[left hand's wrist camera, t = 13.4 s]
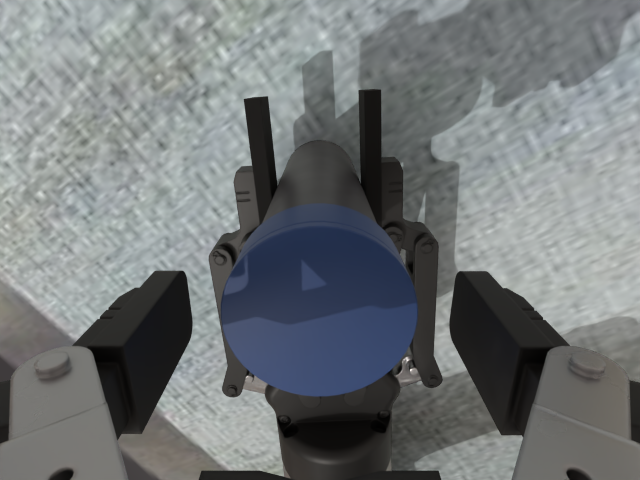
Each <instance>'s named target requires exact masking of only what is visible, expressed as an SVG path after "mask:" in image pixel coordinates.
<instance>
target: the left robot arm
mask: <svg viewBox="0 0 640 480" xmlns="http://www.w3.org/2000/svg"><path fill="white" fill-rule="evenodd" d="M191 334H192V313H191V306H190V298H189V291H188V283H187V277H186V274H185V272H184V271H155V272H153V274H152V275H151V276H150V277H149V278H148V279H147V280H146V281H145V282H144V283H143V285H142V286H141V287H140V288H134V289H132V290H131V291H129V292H127V293H125V294H123V295H122V296H120V297H119V298H118V299H117V300H116V301H115V302H114V303H113V304H112V305H111V306H110V307H109V310H106V311H105V312H104V313H103V314H102V315H101V316H100V319H97V320H96V321H95V323H94V324H93V325H92V326H91V327H90V328H89V329H88V330H87V331H86V332H85V333H84V334H83V335H82V336H81V337H80V338H79V339H78V340H77V341H76V342H75V343H74V344H73V345H72V346H66V347H60V348H56V349H52V350H49V351H46V352H43V353H41V354H39V355H37V356H35V357H33V358H31V359H29V360H28V361H26V362H25V363H23V364H22V365H21V366H20V367H19V368H18V369H17V370H16V371H15V372H14V373H13V375H12V377H11V380H9V381H4V382H0V480H128V477H127V473H126V469H125V466H124V462H123V458H122V455H121V451H120V448H119V444H118V439H119V437H120V435H121V434H142V432H143V430H144V428H145V426H146V424H147V423H148V421H149V419H150V417H151V415H152V413H153V411H154V409H155V407H156V405H157V403H158V401H159V399H160V397H161V395H162V393H163V391H164V390H165V388H166V386H167V384H168V382H169V380H170V378H171V376H172V374H173V372H174V370H175V368H176V366H177V364H178V362H179V360H180V358H181V357H182V355H183V353H184V351H185V349H186V347H187V345H188V343H189V341H190V338H191ZM450 334H451V338H452V341H453V343H454V345H455V347H456V349H457V351H458V353H459V355H460V357H461V359H462V361H463V363H464V365H465V366H466V368H467V370H468V372H469V374H470V376H471V378H472V380H473V382H474V384H475V386H476V388H477V389H478V391H479V393H480V395H481V397H482V399H483V401H484V403H485V405H486V407H487V409H488V411H489V412H490V414H491V416H492V418H493V420H494V422H495V424H496V426H497V428H498V430H499V432H500V434H501V435H522V436H523V440H522V444H521V448H520V451H519V455H518V458H517V462H516V466H515V469H514V473H513V477H512V480H640V383H639V382H634V381H630V380H629V377H628V375H627V373H626V372H625V371H624V370H623V369H622V368H621V367H620V366H619V365H618V364H617V363H615V362H614V361H612V360H611V359H609V358H607V357H605V356H603V355H601V354H599V353H597V352H594V351H591V350H588V349H584V348H580V347H574V346H570V345H569V344H568V343H567V342H566V341H565V340H564V339H563V338H562V337H561V336H560V335H559V334H558V333H557V332H556V331H555V330H554V329H553V328H552V327H551V325H550V324H549V323H548V322H547V321H546V320H543V317H542V316H541V315H540V314H539V313H538V312H537V311H534V308H533V307H532V306H531V305H530V304H529V303H528V302H527V301H526V300H525V299H524V298H523V297H521V296H520V295H518V294H516V293H514V292H513V291H511V290H509V289H507V288H502V287H501V286H500V285H499V284H498V282H497V281H496V280H495V279H494V278H493V277H492V276H491V275H490V274H489V273H488V272H487V271H459V272H458V273H457V275H456V278H455V285H454V292H453V299H452V307H451V314H450ZM199 480H294V479H290V478H286V477H283V476H279V475H275V474H271V473H267V472H263V471H201V474H200V477H199ZM346 480H441V477H440V474H439V471H377V472H373V473H369V474H365V475H361V476H357V477H354V478H350V479H346Z"/></svg>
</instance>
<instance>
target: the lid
mask: <svg viewBox="0 0 640 480" xmlns="http://www.w3.org/2000/svg"><path fill="white" fill-rule="evenodd" d="M417 320H418V302H417V296H416V292H415V288H414V286H413V283H412V281H411V278H410V276H409V274H408V272H407V269H406V267H405V265H404V263H403V261H402V259H401V257H400V255H399V252H398V250H397V248H396V246H395V245H394V243H393V241H392V240H391V238H390V237H389V236H388V234H387V233H386V232H385V231H384V230H383V229H382V228H381V227H380V226H379V225H378V224H377V223H376V222H374V221H373V220H371V219H370V218H369V217H367V216H365V215H363V214H361V213H360V212H358V211H355V210H352V209H350V208H347V207H343V206H339V205H334V204H325V203H317V204H305V205H299V206H296V207H292V208H289V209H286V210H284V211H282V212H279V213H277V214H275V215H274V216H272V217H270V218H269V219H267V220H266V221H265V222H263V223H262V224H261V225H260V226H259V227H258V228H257V229H256V230H255V231H254V232H253V233H252V234H251V235H250V237H249V238H248V240H247V241H246V242H245V244H244V246H243V248H242V250H241V252H240V254H239V256H238V258H237V261H236V263H235V265H234V267H233V269H232V271H231V273H230V275H229V277H228V279H227V281H226V284H225V287H224V290H223V294H222V300H221V322H222V328H223V331H224V334H225V338H226V340H227V342H228V344H229V346H230V348H231V350H232V351H233V353H234V355H235V356H236V357H237V359H238V360H239V361H240V362H241V363H242V365H243V366H244V367H245V368H246V369H248V370H249V371H250V372H251V373H252V374H253V375H255V376H256V377H258V378H259V379H260V380H262V381H264V382H265V383H267V384H269V385H271V386H273V387H276V388H278V389H280V390H283V391H287V392H290V393H294V394H299V395H304V396H333V395H340V394H345V393H349V392H352V391H355V390H358V389H361V388H363V387H365V386H368V385H370V384H372V383H373V382H375V381H377V380H378V379H380V378H381V377H383V376H384V375H385V374H387V373H388V372H389V371H390V370H391V369H392V368H393V367H394V366H395V365H396V364H397V363H398V362H399V361H400V360H401V358H402V357H403V356H404V354H405V353H406V351H407V349H408V347H409V346H410V344H411V341H412V339H413V336H414V334H415V330H416V326H417Z"/></svg>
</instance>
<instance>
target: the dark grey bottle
mask: <svg viewBox="0 0 640 480" xmlns="http://www.w3.org/2000/svg"><path fill="white" fill-rule="evenodd" d="M317 203H325V204H334V205H339V206H343V207H347V208H350V209H352V210H355V211H358V212H360V213H361V214H363V215H365V216H367V217H369V218H370V219H371V220H373V221H374V222H376V220H375V217H374V215H373V213H372V210H371V208H370V205H369V203H368V200H367V198H366V196H365V193H364V191H363V188H362V186H361V183H360V181H359V179H358V176H357V174H356V171H355V169H354V166H353V164H352V162H351V159H350V157H349V156H348V154H347V153H346V152H345V151H344V150H343V149H342V148H341V147H339V146H338V145H336V144H334V143H332V142H328V141H322V140H317V141H311V142H308V143H306V144H304V145H302V146H300V147H299V148H298V149H297V150H296V151H295V152H294V153H293V154H292V155H291V157H290V159H289V161H288V163H287V166H286V168H285V170H284V173H283V175H282V177H281V180H280V182H279V185H278V187H277V189H276V192H275V194H274V196H273V199H272V201H271V204H270V206H269V208H268V211H267V213H266V215H265V218H264V220H263V222H265V221H266V220H267V219H269V218H270V217H272V216H274V215H275V214H277V213H279V212H282V211H284V210H286V209H289V208H292V207H296V206H299V205H305V204H317ZM376 223H377V222H376Z"/></svg>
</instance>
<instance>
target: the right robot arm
mask: <svg viewBox="0 0 640 480" xmlns="http://www.w3.org/2000/svg"><path fill="white" fill-rule="evenodd" d="M244 104H245V112H246V120H247V128H248V136H249V144H250V152H251V159H252V166H241V168H240V169H239V170H238V171H237V172H236V175H235V179H234V187H235V193H236V200H237V208H238V215H239V222H240V229H239V230H237V231H235V232H233V233H226V234H224V235H222V236H221V238H220V239H219V241H218V242H217V244H216V245H215V247H214V248H213V250H212V251H211V253H210V255H209V264H210V269H211V275H212V280H213V286H214V292H215V297H216V303H217V308H218V314H219V319H220V325H221V330H222V336H223V341H224V347H225V353H226V358H227V364H228V367H227V371H226V375H225V379H224V383H223V387H222V391H223V393H224V394H225V395H226V396H229V397H237V396H239V395H240V394H241V392H242V389H246V390H250V391H255V392H259V393H263V394H265V397H266V400H267V402H268V403H269V404H270V405H271V406H272V408H273V409H274V411H275V413H276V418H277V425H278V432H279V440H280V447H281V454H282V461H283V469H284V476H285V477H286V478H290V479H294V480H346V479H350V478H354V477H357V476H361V475H365V474H369V473H373V472H377V471H391V468H392V466H391V410H392V405H393V403H394V401H395V399H396V398H397V397H398V395H399V392H400V387H403V386H406V385H409V384H412V383H415V382H418V381H421V380H422V382H423V384H424V385H425V386H426V387H429V388H434V387H437V386H439V385H440V384H441V383H442V375H441V373H440V370H439V368H438V365H437V363H436V360H435V358H434V334H435V313H436V292H437V270H438V249H439V246H438V242H437V241H436V239H435V238H434V236H433V235H432V234H431V232H430V231H429V230H428V228H427V227H426V226H425V225H424V224H423V223H421V222H410V221H407V220H405V219H403V170H402V167H401V165H400V163H399V161H398V160H397V159H396V158H395V157H383V158H381V90H378V89H369V90H359V123H360V161H361V186H362V188H363V191H364V193H365V196H366V198H367V200H368V203H369V205H370V208H371V210H372V213H373V215H374V217H375V220H376V222H377V224H378V225H379V226H380V227H381V228H382V229H383V230H384V231H385V232H386V233H387V234H388V236H389V237H390V238H391V240H392V241H393V243H394V245H395V246H396V248H397V250H398V252H399V255H400V251H401V249H405V250H406V269H407V272H408V274H409V276H410V278H411V281H412V283H413V286H414V288H415V292H416V296H417V302H418V320H417V326H416V330H415V334H414V336H413V339H412V341H411V344H410V346H409V347H408V349H407V351H406V353H405V354H404V356H403V357H402V358H401V360H400V361H399V362H398V363H397V364H396V365H395V366H394V367H393V368H392V369H391V370H390V371H389V372H388V373H387V374H385V375H384V376H383V377H381V378H380V379H378V380H377V381H375V382H373V383H372V384H370V385H368V386H365V387H363V388H361V389H358V390H355V391H352V392H349V393H345V394H340V395H333V396H304V395H299V394H294V393H290V392H287V391H283V390H280V389H278V388H276V387H273V386H271V385H269V384H267V383H265V382H264V381H262V380H260V379H259V378H258V377H256V376H255V375H253V374H252V373H251V372H250V371H249V370H248V369H246V368H245V367H244V366H243V365H242V363H241V362H240V361H239V360H238V359H237V357H236V356H235V355H234V353H233V351H232V350H231V348H230V346H229V344H228V342H227V340H226V338H225V334H224V331H223V328H222V322H221V300H222V294H223V290H224V287H225V284H226V281H227V279H228V277H229V275H230V273H231V271H232V269H233V267H234V265H235V263H236V261H237V258H238V256H239V254H240V252H241V250H242V248H243V246H244V244H245V242H246V241H247V240H248V238H249V237H250V235H251V234H252V233H253V232H254V231H255V230H256V229H257V228H258V227H259V226H260V225H261V224H262V223H263V220H264V218H265V215H266V213H267V211H268V208H269V206H270V204H271V201H272V199H273V196H274V194H275V192H276V189H277V178H276V169H275V159H274V150H273V140H272V131H271V121H270V112H269V102H268V96H267V97H253V98H247V99H244Z"/></svg>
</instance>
